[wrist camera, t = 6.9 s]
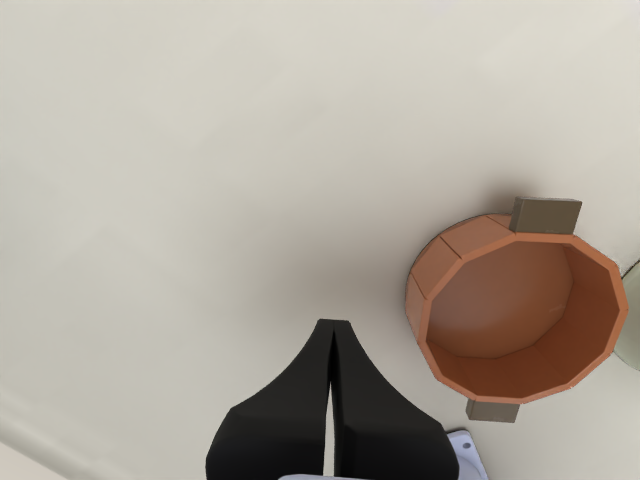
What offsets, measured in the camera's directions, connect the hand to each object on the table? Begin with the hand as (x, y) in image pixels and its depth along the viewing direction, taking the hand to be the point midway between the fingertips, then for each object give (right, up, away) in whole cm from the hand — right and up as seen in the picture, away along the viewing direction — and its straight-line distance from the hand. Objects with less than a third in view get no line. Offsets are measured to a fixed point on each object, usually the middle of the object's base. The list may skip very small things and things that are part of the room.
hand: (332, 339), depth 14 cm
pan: (+9, +1, +4) cm, 10 cm away
